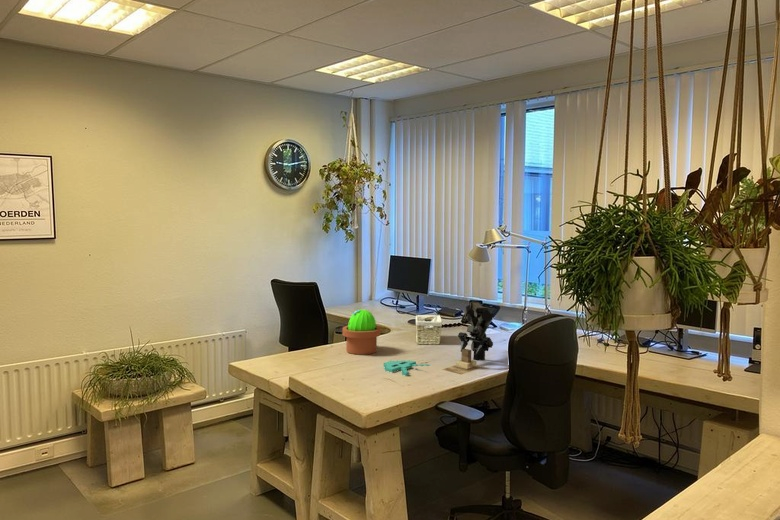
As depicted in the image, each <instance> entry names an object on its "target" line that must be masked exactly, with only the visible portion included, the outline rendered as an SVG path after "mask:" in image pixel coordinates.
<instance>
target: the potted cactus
mask: <svg viewBox="0 0 780 520" xmlns="http://www.w3.org/2000/svg"><path fill="white" fill-rule="evenodd" d="M374 316H375V315H373V313H372V312H370V311H369V310H367V309H357V310H355V311H354V312H352V314H351V315H350V317H349V321H348V323H347V324H348V325H345V326H343V327H342V336H343V337H345V338H346V344H345V345H346V348H345V349H346V352H347V353H348V354H351V355H363V356H364V355H371V354H374V353H376V352H377V350H378V349H377V346H378V344H377V340H378V339H377V338H378V337H380V336H381V335H382V334H381V333H382V332H381V329H382V328H381V326H378V325H377V324H376V323H377V321H376V319H375V317H374Z"/></svg>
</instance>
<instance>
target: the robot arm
mask: <svg viewBox="0 0 780 520" xmlns="http://www.w3.org/2000/svg"><path fill="white" fill-rule="evenodd" d="M464 317H465V318H466V321H468V322H470V324H469V325H467V328H466V332H468V333H469V335H468V334H467V333H466V332H462V331H461V332H459V333H458V334H457V337H458V339H459V340H460V342H461V344H460V352H461V353H462V349H466V348H467V346H468V344H469V342H470V341H471V345H470V350H471V352H473V357H472V358H473V359H472V360H473V361H484V360H486V352H489V349H490V348H492V347H493V346H494V342H493V340H492V339H491V337H489V336H487V333H486V332H487V330H488V328H489V326H490V323H491V322H492V320H493V313H491V311H490V309H489V308H488V307H487V306H482V305H481V303H480V302H478V301H471V302H469V305H467V306H466V307H465V309H464Z"/></svg>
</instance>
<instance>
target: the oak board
mask: <svg viewBox="0 0 780 520" xmlns="http://www.w3.org/2000/svg"><path fill="white" fill-rule="evenodd" d="M481 368H482V366H478V365H476V367H475V368H472V369H469V370H465V369H461V368H457V367H456V364H454V365H453V366H449V367H445V368H442V369H441V370H442V371H446V372H450V373H454V374H458V375H463V374H466V373H469V372H472V371H476V370H479V369H481Z"/></svg>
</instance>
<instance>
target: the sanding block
mask: <svg viewBox="0 0 780 520" xmlns="http://www.w3.org/2000/svg"><path fill="white" fill-rule="evenodd" d="M460 356H461V359H460V360H457V361H455V365H456V367H457V368H461V369H465V370H469V369H472V368H475V367H476V366H477V360H473V359H472V350H471V349H469V348H465V349H462V352H461V355H460Z"/></svg>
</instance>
